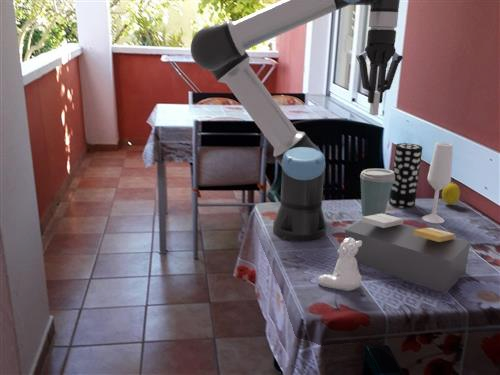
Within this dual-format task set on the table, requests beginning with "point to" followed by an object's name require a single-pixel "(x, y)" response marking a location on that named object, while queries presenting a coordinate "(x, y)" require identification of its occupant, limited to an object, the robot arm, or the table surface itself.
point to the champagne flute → (439, 175)
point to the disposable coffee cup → (375, 190)
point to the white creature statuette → (344, 268)
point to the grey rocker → (382, 220)
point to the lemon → (451, 193)
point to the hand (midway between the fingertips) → (373, 114)
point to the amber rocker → (434, 234)
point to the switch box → (410, 255)
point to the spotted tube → (405, 175)
